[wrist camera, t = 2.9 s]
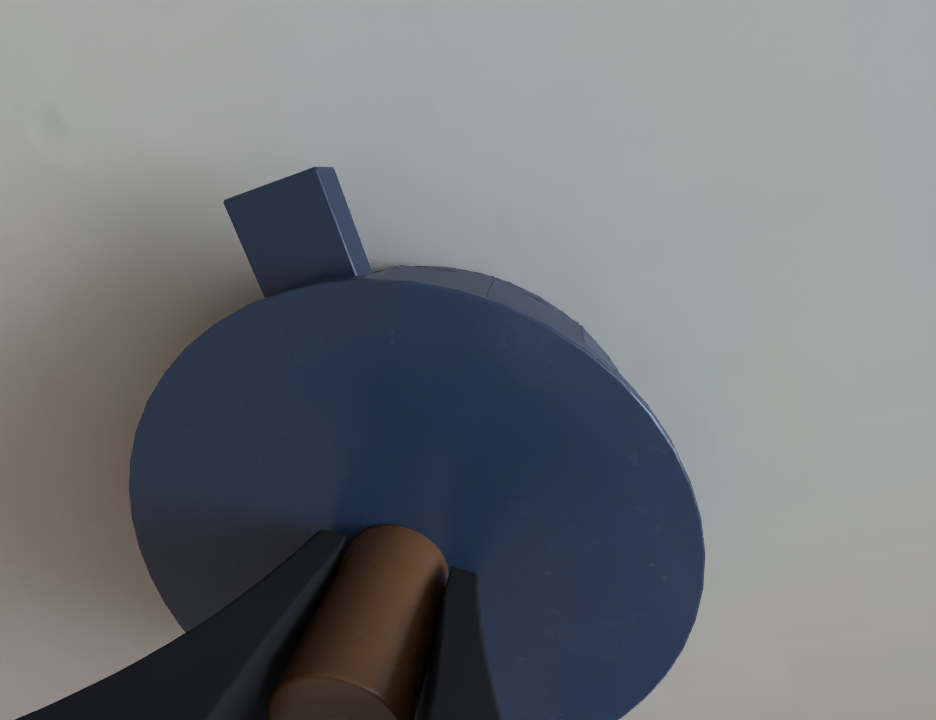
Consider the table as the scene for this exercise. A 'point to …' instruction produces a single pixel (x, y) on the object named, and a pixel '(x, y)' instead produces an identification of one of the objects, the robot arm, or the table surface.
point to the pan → (343, 246)
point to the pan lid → (423, 496)
